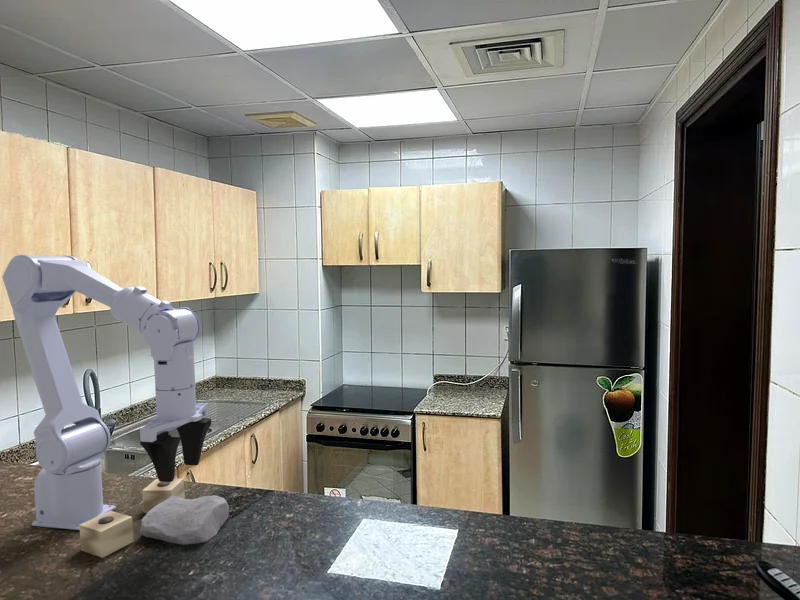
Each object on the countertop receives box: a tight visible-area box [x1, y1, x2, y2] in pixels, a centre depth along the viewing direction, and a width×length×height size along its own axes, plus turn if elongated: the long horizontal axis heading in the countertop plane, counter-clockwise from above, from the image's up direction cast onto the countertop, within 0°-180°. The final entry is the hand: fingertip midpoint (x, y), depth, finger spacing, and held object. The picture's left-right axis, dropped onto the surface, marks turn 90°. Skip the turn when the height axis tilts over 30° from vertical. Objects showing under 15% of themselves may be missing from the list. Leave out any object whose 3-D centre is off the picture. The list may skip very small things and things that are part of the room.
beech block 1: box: [79, 510, 135, 559], centre depth 80 cm, size 5×5×4 cm
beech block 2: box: [141, 478, 186, 514], centre depth 93 cm, size 5×5×4 cm
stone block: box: [139, 494, 230, 546], centre depth 85 cm, size 12×5×10 cm
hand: (179, 472), depth 84 cm, fingers open, 6 cm apart
